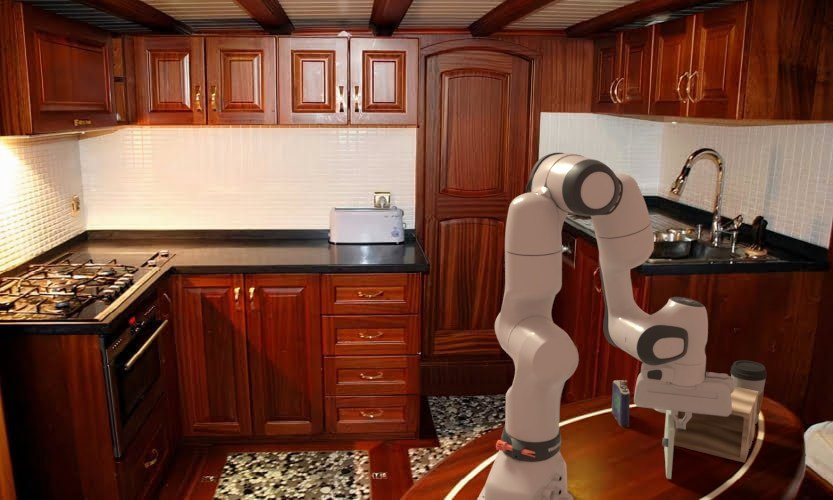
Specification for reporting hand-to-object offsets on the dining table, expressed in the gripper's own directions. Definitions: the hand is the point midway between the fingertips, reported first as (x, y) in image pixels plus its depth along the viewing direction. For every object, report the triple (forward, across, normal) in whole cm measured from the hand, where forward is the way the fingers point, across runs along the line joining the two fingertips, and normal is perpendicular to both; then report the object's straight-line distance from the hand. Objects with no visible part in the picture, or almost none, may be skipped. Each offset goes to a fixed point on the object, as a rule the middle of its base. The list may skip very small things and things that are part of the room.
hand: (680, 428), depth 157 cm
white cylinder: (+10, +3, -30) cm, 32 cm away
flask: (+10, +14, -20) cm, 26 cm away
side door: (+9, +3, -1) cm, 9 cm away
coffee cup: (+10, -16, -28) cm, 34 cm away
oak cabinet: (+10, -8, -15) cm, 19 cm away
